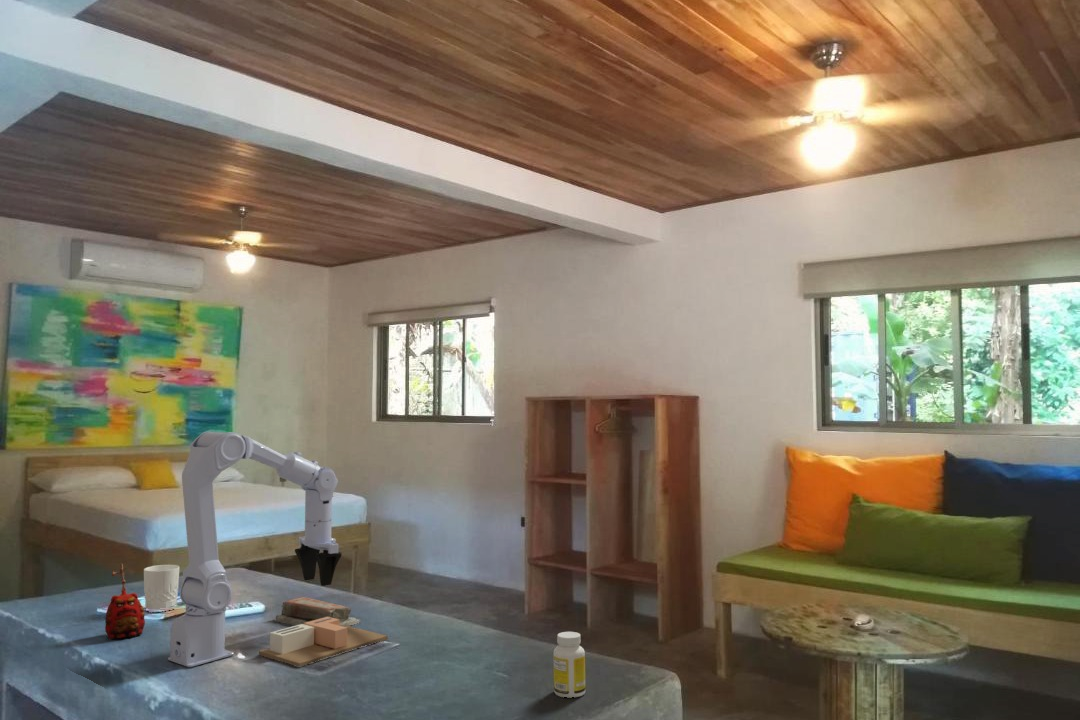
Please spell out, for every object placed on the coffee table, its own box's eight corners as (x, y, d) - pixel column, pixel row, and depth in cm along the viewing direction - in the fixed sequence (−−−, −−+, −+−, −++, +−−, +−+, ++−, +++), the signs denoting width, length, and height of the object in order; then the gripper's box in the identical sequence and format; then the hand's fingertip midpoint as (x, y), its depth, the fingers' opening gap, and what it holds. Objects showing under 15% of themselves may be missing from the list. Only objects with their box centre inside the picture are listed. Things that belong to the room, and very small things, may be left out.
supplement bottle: (584, 687, 140) (583, 630, 140) (586, 698, 134) (586, 639, 135) (552, 687, 139) (552, 630, 140) (554, 699, 134) (554, 639, 135)
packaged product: (273, 601, 184) (308, 593, 192) (273, 623, 183) (308, 613, 192) (327, 612, 174) (361, 603, 182) (327, 635, 173) (361, 624, 181)
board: (299, 667, 151) (299, 663, 151) (258, 655, 158) (258, 650, 158) (387, 639, 168) (387, 635, 168) (346, 629, 176) (346, 625, 176)
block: (335, 648, 159) (335, 630, 159) (303, 640, 165) (303, 622, 165) (358, 641, 164) (358, 623, 164) (327, 633, 170) (327, 616, 170)
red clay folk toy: (108, 642, 167) (109, 570, 168) (101, 635, 173) (102, 565, 173) (147, 636, 172) (149, 565, 173) (139, 628, 178) (141, 560, 178)
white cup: (145, 606, 197) (146, 565, 197) (180, 604, 199) (181, 563, 200) (140, 615, 189) (141, 572, 190) (176, 612, 192) (177, 569, 192)
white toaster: (282, 654, 156) (282, 635, 157) (270, 650, 159) (270, 631, 159) (314, 644, 162) (314, 626, 163) (301, 641, 165) (301, 623, 165)
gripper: (351, 522, 176) (350, 584, 175) (318, 515, 187) (317, 574, 186) (321, 525, 171) (321, 589, 171) (290, 518, 182) (289, 579, 181)
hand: (317, 582), depth 178 cm, fingers open, 7 cm apart
